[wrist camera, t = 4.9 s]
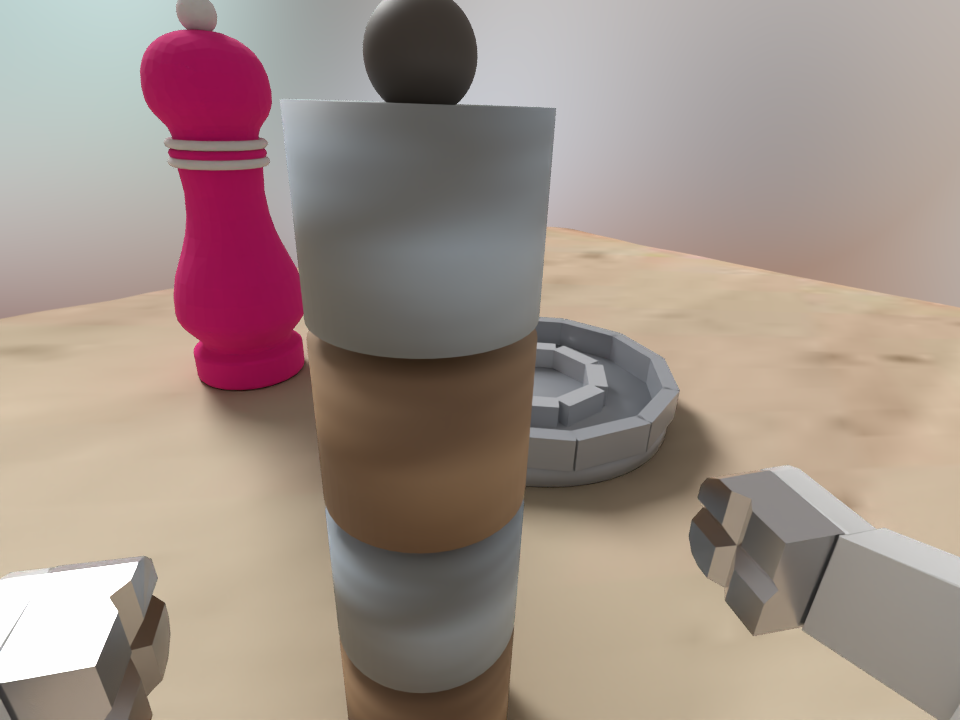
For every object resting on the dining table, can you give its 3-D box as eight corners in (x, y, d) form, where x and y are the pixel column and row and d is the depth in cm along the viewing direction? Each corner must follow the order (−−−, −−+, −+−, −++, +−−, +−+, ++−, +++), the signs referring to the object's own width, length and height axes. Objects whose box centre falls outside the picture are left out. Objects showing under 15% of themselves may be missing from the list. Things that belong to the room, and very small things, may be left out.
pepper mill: (336, 361, 36) (304, 0, 28) (243, 407, 30) (168, -29, 22) (260, 337, 39) (211, 7, 31) (163, 375, 34) (70, -17, 25)
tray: (364, 471, 26) (360, 423, 24) (425, 344, 39) (425, 309, 38) (697, 501, 24) (709, 451, 23) (641, 359, 38) (647, 323, 37)
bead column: (326, 785, 14) (201, -51, 7) (374, 634, 18) (329, 7, 11) (501, 809, 14) (573, -47, 6) (510, 649, 17) (561, 12, 10)
